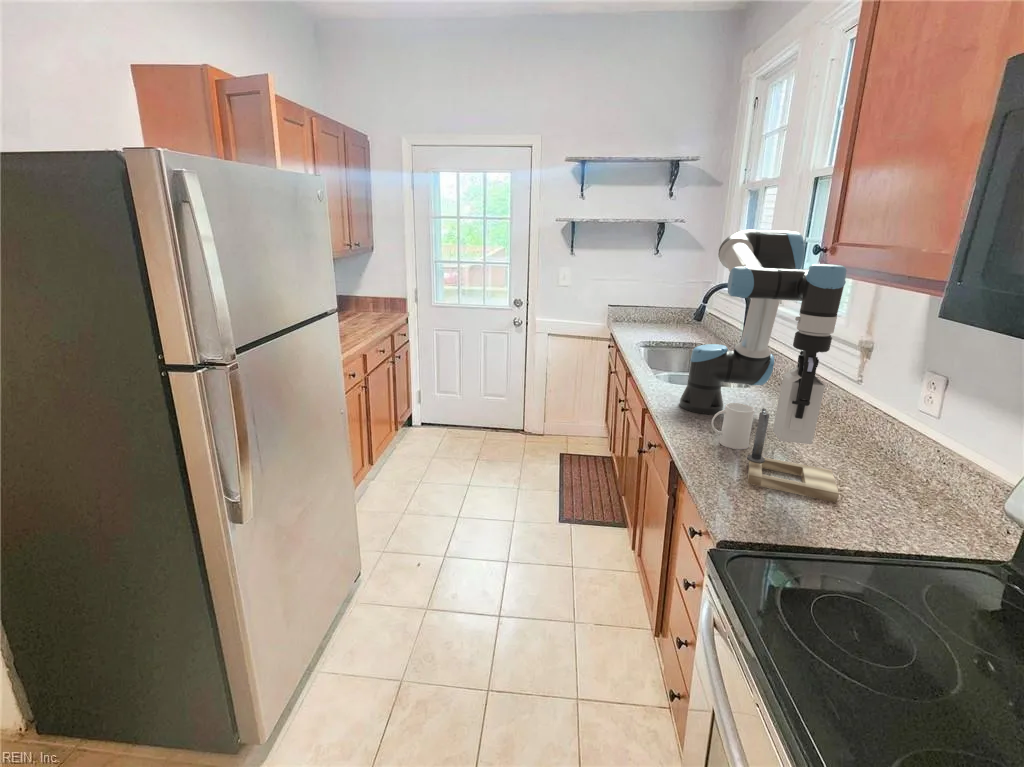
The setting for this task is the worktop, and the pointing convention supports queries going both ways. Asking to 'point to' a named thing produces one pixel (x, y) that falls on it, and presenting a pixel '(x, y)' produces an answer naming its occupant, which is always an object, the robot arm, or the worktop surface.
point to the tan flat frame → (812, 484)
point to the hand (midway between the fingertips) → (794, 423)
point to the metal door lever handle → (759, 438)
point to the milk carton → (786, 409)
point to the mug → (735, 425)
